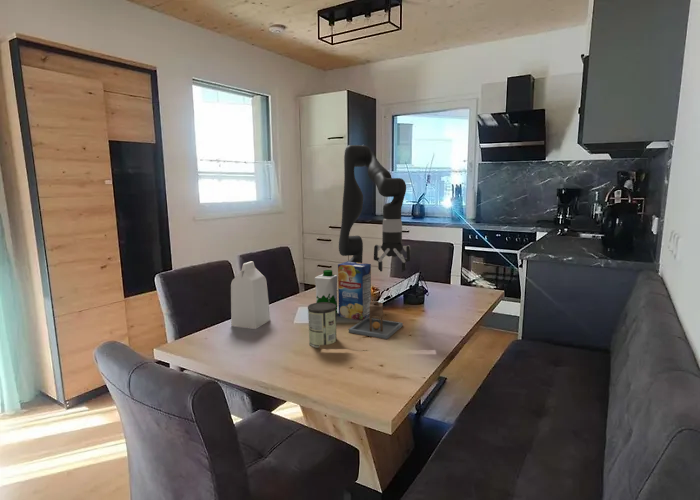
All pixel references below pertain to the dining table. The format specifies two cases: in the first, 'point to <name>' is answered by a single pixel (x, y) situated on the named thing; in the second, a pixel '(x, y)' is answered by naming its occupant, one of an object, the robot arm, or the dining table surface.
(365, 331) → the tray
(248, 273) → the milk
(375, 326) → the ball
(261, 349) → the dining table surface
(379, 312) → the wooden stool
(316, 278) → the milk carton
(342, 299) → the juice carton
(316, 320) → the coffee can
